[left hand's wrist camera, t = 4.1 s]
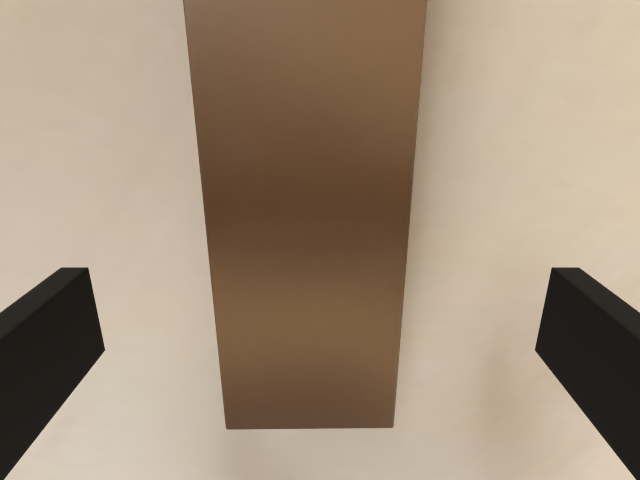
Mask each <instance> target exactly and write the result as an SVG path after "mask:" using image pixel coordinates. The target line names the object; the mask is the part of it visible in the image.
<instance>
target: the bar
mask: <svg viewBox="0 0 640 480" xmlns="http://www.w3.org/2000/svg"><path fill="white" fill-rule="evenodd" d="M183 4H184V14H185V24H186V34H187V44H188V54H189V64H190V74H191V84H192V94H193V104H194V114H195V124H196V134H197V144H198V154H199V164H200V174H201V184H202V194H203V204H204V214H205V224H206V234H207V244H208V254H209V264H210V274H211V284H212V294H213V303H214V313H215V323H216V333H217V343H218V353H219V363H220V373H221V383H222V393H223V403H224V413H225V423H226V429H317V428H392V427H393V426H394V413H395V400H396V388H397V375H398V362H399V349H400V337H401V324H402V311H403V298H404V286H405V273H406V260H407V247H408V235H409V222H410V209H411V197H412V184H413V171H414V158H415V146H416V133H417V120H418V107H419V95H420V82H421V69H422V56H423V44H424V31H425V18H426V5H427V0H183Z"/></svg>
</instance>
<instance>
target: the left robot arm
mask: <svg viewBox="0 0 640 480" xmlns="http://www.w3.org/2000/svg"><path fill="white" fill-rule="evenodd" d="M104 351H105V347H104V343H103V338H102V333H101V328H100V323H99V318H98V313H97V308H96V304H95V299H94V294H93V289H92V284H91V279H90V274H89V269H88V268H60V269H59V270H57V271H56V272H55V273H53V274H52V275H51V276H49V277H48V278H46V279H45V280H44V281H42V282H41V283H40V284H38V285H37V286H36V287H34V288H33V289H32V290H30V291H29V292H28V293H26V294H25V295H24V296H22V297H21V298H20V299H18V300H17V301H16V302H14V303H13V304H11V305H10V306H9V307H7V308H6V309H5V310H3V311H2V312H1V313H0V480H4V479H5V477H6V476H7V475H8V474H9V472H10V471H11V470H12V468H13V467H14V466H15V465H16V463H17V462H18V461H19V460H20V458H21V457H22V456H23V454H24V453H25V452H26V451H27V449H28V448H29V447H30V445H31V444H32V443H33V442H34V440H35V439H36V438H37V436H38V435H39V434H40V433H41V431H42V430H43V429H44V428H45V426H46V425H47V424H48V422H49V421H50V420H51V419H52V417H53V416H54V415H55V413H56V412H57V411H58V410H59V408H60V407H61V406H62V405H63V403H64V402H65V401H66V399H67V398H68V397H69V396H70V394H71V393H72V392H73V390H74V389H75V388H76V387H77V385H78V384H79V383H80V382H81V380H82V379H83V378H84V376H85V375H86V374H87V373H88V371H89V370H90V369H91V367H92V366H93V365H94V364H95V362H96V361H97V360H98V358H99V357H100V356H101V355H102V353H103V352H104ZM535 351H536V352H537V353H538V355H539V356H540V357H541V358H542V360H543V361H544V362H545V364H546V365H547V366H548V367H549V369H550V370H551V371H552V373H553V374H554V375H555V376H556V378H557V379H558V380H559V382H560V383H561V384H562V385H563V387H564V388H565V389H566V390H567V392H568V393H569V394H570V396H571V397H572V398H573V399H574V401H575V402H576V403H577V405H578V406H579V407H580V408H581V410H582V411H583V412H584V413H585V415H586V416H587V417H588V419H589V420H590V421H591V422H592V424H593V425H594V426H595V428H596V429H597V430H598V431H599V433H600V434H601V435H602V436H603V438H604V439H605V440H606V442H607V443H608V444H609V445H610V447H611V448H612V449H613V451H614V452H615V453H616V454H617V456H618V457H619V458H620V460H621V461H622V462H623V463H624V465H625V466H626V467H627V468H628V470H629V471H630V472H631V474H632V475H633V476H634V477H635V479H636V480H640V313H639V312H638V311H637V310H635V309H634V308H633V307H631V306H630V305H629V304H627V303H626V302H624V301H623V300H622V299H620V298H619V297H618V296H616V295H615V294H614V293H612V292H611V291H610V290H608V289H607V288H606V287H604V286H603V285H602V284H600V283H599V282H598V281H596V280H595V279H594V278H592V277H591V276H589V275H588V274H587V273H585V272H584V271H583V270H581V269H580V268H552V269H551V274H550V279H549V284H548V289H547V294H546V299H545V304H544V308H543V313H542V318H541V323H540V328H539V333H538V338H537V343H536V347H535Z"/></svg>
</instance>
